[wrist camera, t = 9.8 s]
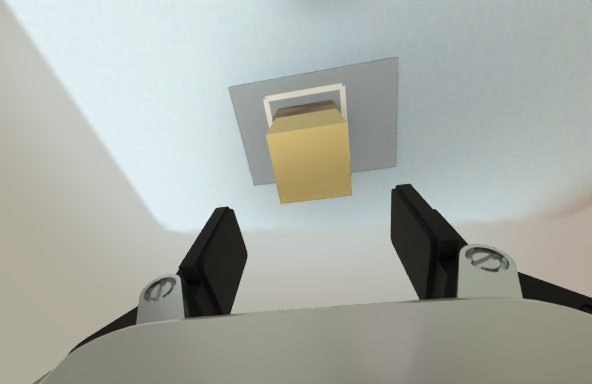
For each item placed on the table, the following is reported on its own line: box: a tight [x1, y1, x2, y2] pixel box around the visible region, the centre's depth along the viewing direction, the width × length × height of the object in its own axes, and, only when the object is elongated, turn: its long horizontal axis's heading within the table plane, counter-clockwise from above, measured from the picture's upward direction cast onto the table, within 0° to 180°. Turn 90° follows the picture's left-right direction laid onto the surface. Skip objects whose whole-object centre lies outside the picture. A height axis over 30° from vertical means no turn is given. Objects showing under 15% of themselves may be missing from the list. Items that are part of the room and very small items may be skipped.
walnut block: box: [272, 100, 339, 122], centre depth 26 cm, size 6×6×6 cm
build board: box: [228, 57, 398, 186], centre depth 29 cm, size 18×12×1 cm, turn 99°
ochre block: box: [266, 108, 352, 204], centre depth 20 cm, size 6×6×6 cm
